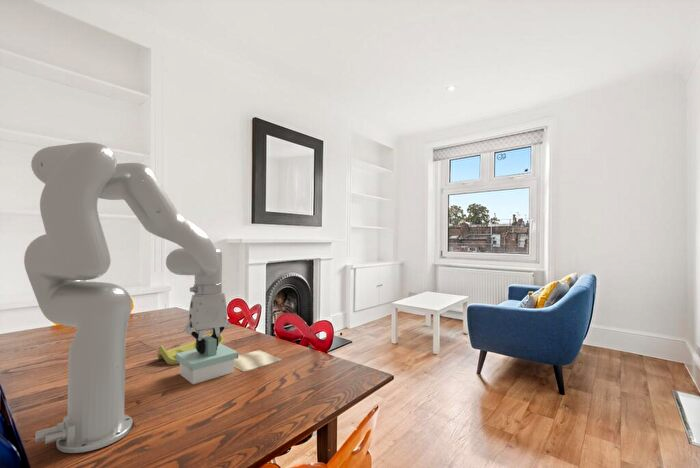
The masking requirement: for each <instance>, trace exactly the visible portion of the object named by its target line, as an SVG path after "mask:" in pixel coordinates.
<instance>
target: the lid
mask: <svg viewBox="0 0 700 468" xmlns="http://www.w3.org/2000/svg"><path fill="white" fill-rule="evenodd" d="M202 338H203V340H204V353H203V354H201V353H199V352H198V351H197V350H196V349H194V350H189V351H185V352H180V353H176V356H175V360H177V361H178V362H179V364H180V363H181V364H182V365H184V366H185V367H186V368H188V369H189V370H191V371H192V370H196V369H200V368H204V367H207V366H211V365H215V364H218V363H222V362H226V361H230V360H233V359H237V358H238V355H239V351H236V350H235V349H232V348H231V347H229V346H227V345H224V344H223V343H222V344H221V343H220V344H218V346H217V339H215V338H213V337H210V336H208V335H206V334H203V337H202ZM216 349H217V350H216Z"/></svg>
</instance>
